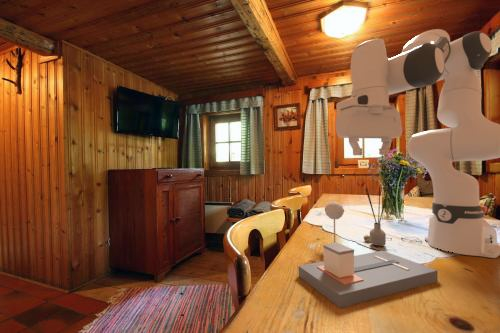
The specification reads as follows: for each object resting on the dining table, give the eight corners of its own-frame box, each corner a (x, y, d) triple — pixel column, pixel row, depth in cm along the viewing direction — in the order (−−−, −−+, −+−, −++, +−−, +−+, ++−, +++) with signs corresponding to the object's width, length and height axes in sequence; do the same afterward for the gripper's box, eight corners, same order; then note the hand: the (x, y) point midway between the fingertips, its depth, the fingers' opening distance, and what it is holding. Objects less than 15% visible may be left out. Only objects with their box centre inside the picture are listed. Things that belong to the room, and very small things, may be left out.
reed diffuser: (395, 248, 75) (394, 186, 75) (379, 251, 72) (378, 187, 73) (368, 240, 84) (368, 184, 85) (354, 242, 82) (353, 185, 82)
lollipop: (346, 245, 78) (345, 201, 79) (342, 250, 73) (342, 203, 74) (327, 242, 82) (326, 200, 82) (322, 247, 77) (322, 202, 77)
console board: (383, 259, 66) (382, 249, 66) (437, 281, 53) (437, 269, 53) (298, 276, 56) (298, 264, 56) (340, 308, 43) (339, 293, 43)
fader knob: (337, 265, 55) (337, 242, 55) (354, 274, 50) (354, 249, 50) (323, 268, 53) (323, 244, 54) (339, 278, 49) (339, 252, 49)
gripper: (386, 108, 69) (388, 155, 69) (331, 103, 61) (332, 156, 61) (408, 102, 63) (409, 153, 63) (349, 97, 55) (351, 155, 55)
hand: (371, 155), depth 62 cm, fingers open, 8 cm apart
